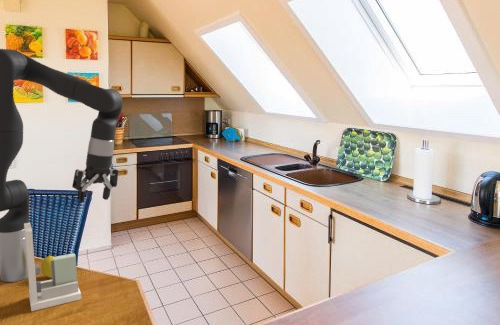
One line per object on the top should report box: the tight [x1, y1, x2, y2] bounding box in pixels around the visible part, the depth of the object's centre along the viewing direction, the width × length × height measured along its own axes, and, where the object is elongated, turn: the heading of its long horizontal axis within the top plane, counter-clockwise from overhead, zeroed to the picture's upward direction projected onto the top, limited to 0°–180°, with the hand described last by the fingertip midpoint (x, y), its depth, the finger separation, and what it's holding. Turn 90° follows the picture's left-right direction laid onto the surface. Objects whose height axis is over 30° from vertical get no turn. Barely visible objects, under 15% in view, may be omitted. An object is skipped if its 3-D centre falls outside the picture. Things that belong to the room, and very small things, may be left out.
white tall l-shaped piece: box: [24, 222, 82, 312], centre depth 119 cm, size 14×9×24 cm, turn 122°
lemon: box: [40, 255, 54, 279], centre depth 133 cm, size 6×6×8 cm
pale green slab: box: [51, 253, 78, 286], centre depth 121 cm, size 7×3×11 cm, turn 122°
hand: (93, 200), depth 127 cm, fingers open, 8 cm apart
